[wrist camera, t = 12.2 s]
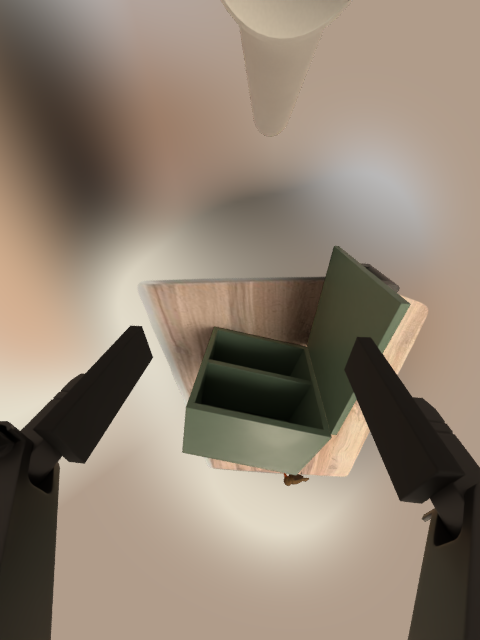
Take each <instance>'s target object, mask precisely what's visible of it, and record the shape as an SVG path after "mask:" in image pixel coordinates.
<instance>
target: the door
mask: <svg viewBox="0 0 480 640" xmlns="http://www.w3.org/2000/svg"><path fill="white" fill-rule="evenodd" d="M398 291H399V286H398V285H396V284H395V283H394V282H392V281H391V280H390V279H388V278H387V277H386V276H385V275H383V274H382V273H381V272H379V271H378V270H377V269H375V268H374V267H372V266H371V265H370V264H360V263H359V262H358V261H356V260H355V259H354V258H353V257H351V256H350V255H348V253H346V252H345V251H344V250H343V249H341V248H340V247H339V246H334V248H333V252H332V255H331V259H330V263H329V267H328V270H327V274H326V277H325V281H324V284H323V288H322V292H321V295H320V299H319V303H318V306H317V310H316V313H315V317H314V321H313V324H312V328H311V332H310V335H309V339H308V343H307V348H308V351H309V355H310V359H311V363H312V366H313V370H314V374H315V377H316V381H317V385H318V388H319V392H320V396H321V400H322V403H323V407H324V411H325V414H326V418H327V422H328V425H329V429H330V433H331V434H332V435H337V433H338V431H339V430H340V428H341V426H342V424H343V422H344V421H345V419H346V417H347V415H348V414H349V412H350V410H351V408H352V407H353V405H354V403H355V401H356V400H357V399H356V396H355V394H354V392H353V389H352V387H351V385H350V382H349V380H348V378H347V375H346V373H345V371H344V369H345V366H346V363H347V361H348V358H349V356H350V353H351V351H352V348H353V346H354V343H355V341H356V338H357V337H371V338H372V340H373V341H374V342H375V344H376V345H377V347H378V348H379V350H380V351H381V353H382V354H383V352H384V350H385V349H386V347H387V345H388V343H389V341H390V340H391V338H392V336H393V334H394V333H395V331H396V329H397V327H398V326H399V324H400V322H401V320H402V319H403V317H404V315H405V313H406V312H407V310H408V308H409V306H410V303H409V302H407V301H406V300H405V299H404V298H402V297H401V296H400V295H399V294H397V292H398Z"/></svg>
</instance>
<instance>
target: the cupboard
mask: <svg viewBox="0 0 480 640" xmlns="http://www.w3.org/2000/svg"><path fill="white" fill-rule="evenodd" d="M331 438H332V437H331V433H330V429H329V426H328V422H327V418H326V415H325V411H324V407H323V403H322V400H321V396H320V392H319V389H318V385H317V381H316V378H315V374H314V370H313V366H312V363H311V359H310V355H309V352H308V348H307V347H305V346H300V345H296V344H291V343H287V342H282V341H278V340H273V339H269V338H264V337H260V336H255V335H251V334H246V333H242V332H237V331H233V330H228V329H223V328H219V327H214V329H213V332H212V335H211V338H210V340H209V343H208V346H207V349H206V352H205V355H204V358H203V360H202V363H201V366H200V369H199V372H198V375H197V377H196V380H195V383H194V386H193V389H192V392H191V395H190V397H189V400H188V403H187V406H186V414H185V427H184V438H183V451H182V452H183V453H187V454H192V455H197V456H202V457H207V458H212V459H217V460H222V461H227V462H232V463H237V464H242V465H247V466H252V467H257V468H262V469H267V470H272V471H277V472H282V473H287V474H292V475H297V474H298V473H299V472H300V471H301V470H302V469H303V468H304V467H305V466H306V464H307V463H308V462H309V461H310V460H311V459H312V458H313V457H314V456H315V455H316V454H317V453H318V452H319V451H320V450H321V449H322V447H323V446H324V445H325V444H326V443H327V442H328V441H329V440H330V439H331Z"/></svg>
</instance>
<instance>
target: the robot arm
mask: <svg viewBox="0 0 480 640" xmlns="http://www.w3.org/2000/svg"><path fill="white" fill-rule="evenodd" d="M152 358H153V356H152V354H151V351H150V348H149V345H148V342H147V339H146V337H145V334H144V331H143V328H142V326H130V327H129V328H128V329H127V330H126V331H125V332H124V333H123V334H122V335H121V336H120V337H119V339H118V340H117V341H116V342H115V343H114V344H113V345H112V346H111V347H110V348H109V349H108V350H107V351H106V352H105V353H104V354H103V355H102V356H101V358H100V359H99V360H98V361H97V362H96V363H95V364H94V365H93V366H92V367H91V368H90V369H89V370H88V371H87V373H85V374H80V375H78V376H77V377H75V378H74V379H72V380H71V381H70V382H69V383H68V384H67V385H66V386H65V387H64V388H63V389H62V390H61V392H59V393H58V394H57V395H56V396H55V397H54V399H53V400H51V401H50V402H49V403H48V404H47V405H46V406H45V407H44V408H43V409H42V410H41V411H40V412H39V413H38V414H37V415H36V416H35V417H34V418H33V419H32V420H31V421H30V422H29V423H28V424H27V425H26V426H25V427H24V428H23V429H22V430H21V431H19V430H18V429H17V428H16V427H14V426H13V425H12V424H11V423H9V422H8V421H0V640H51V621H52V604H53V585H54V565H55V547H56V529H57V509H58V490H59V472H60V467H59V463H58V461H59V459H60V458H61V457H62V456H63V457H64V458H65V459H67V460H68V461H69V462H76V463H85V462H86V461H87V459H88V458H89V456H90V455H91V453H92V451H93V450H94V448H95V447H96V445H97V444H98V442H99V441H100V439H101V438H102V436H103V434H104V433H105V431H106V430H107V428H108V427H109V425H110V424H111V422H112V420H113V419H114V417H115V416H116V414H117V413H118V411H119V409H120V408H121V406H122V405H123V403H124V402H125V400H126V399H127V397H128V396H129V394H130V392H131V391H132V389H133V387H134V386H135V384H136V383H137V381H138V380H139V378H140V377H141V375H142V374H143V372H144V371H145V369H146V368H147V366H148V364H149V363H150V361H151V360H152ZM344 371H345V373H346V375H347V378H348V380H349V382H350V385H351V387H352V389H353V392H354V394H355V396H356V399H357V401H358V403H359V406H360V408H361V410H362V413H363V415H364V418H365V420H366V422H367V425H368V427H369V429H370V432H371V434H372V436H373V439H374V441H375V443H376V446H377V448H378V450H379V453H380V455H381V457H382V460H383V462H384V464H385V467H386V469H387V471H388V474H389V476H390V478H391V481H392V483H393V485H394V488H395V490H396V492H397V495H398V497H399V500H400V501H404V502H413V503H423V502H425V501H426V500H428V499H429V498H430V499H431V501H432V503H433V505H434V507H435V509H433V510H431V511H429V512H428V513H426V514H424V516H423V518H422V519H423V520H424V521H425V522H426V521H428V520H430V519H431V520H430V526H429V531H428V537H427V542H426V547H425V552H424V557H423V563H422V568H421V573H420V578H419V584H418V589H417V595H416V600H415V605H414V610H413V615H412V621H411V626H410V631H409V636H408V640H480V467H479V466H478V465H477V463H476V462H475V461H474V459H473V458H472V457H471V455H470V454H469V453H468V452H467V450H466V449H465V447H464V446H463V445H462V444H461V442H460V441H459V440H458V438H457V437H456V436H455V435H454V434H453V433H452V430H451V429H450V428H449V426H448V425H447V424H445V421H444V420H443V418H442V417H441V416H440V414H439V413H438V412H437V410H436V409H435V408H434V407H432V406H431V405H430V404H429V403H428V402H427V401H425V400H424V399H423V398H414V397H412V396H411V395H410V393H409V392H408V390H407V389H406V387H405V386H404V384H403V383H402V382H401V380H400V379H399V377H398V376H397V374H396V373H395V371H394V370H393V368H392V367H391V366H390V364H389V363H388V361H387V360H386V358H385V357H384V355H383V354H382V353H381V351H380V350H379V348H378V347H377V345H376V344H375V342H374V341H373V340H372V338H371V337H357V338H356V341H355V343H354V346H353V348H352V351H351V353H350V356H349V358H348V361H347V363H346V366H345V369H344Z"/></svg>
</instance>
